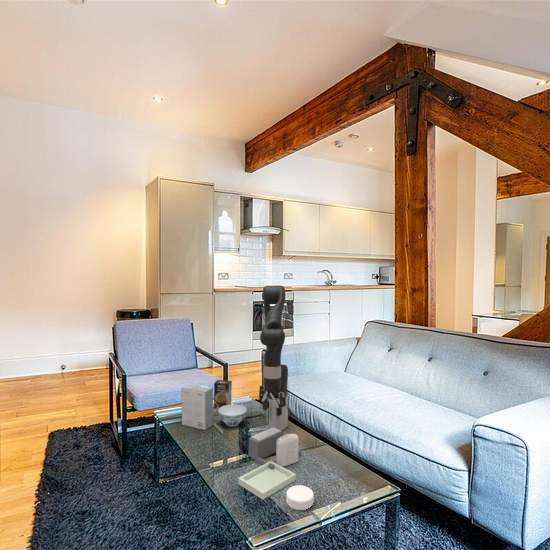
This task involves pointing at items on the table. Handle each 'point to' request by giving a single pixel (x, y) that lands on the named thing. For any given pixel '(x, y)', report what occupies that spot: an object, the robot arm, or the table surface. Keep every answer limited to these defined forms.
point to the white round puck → (300, 497)
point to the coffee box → (222, 393)
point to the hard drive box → (197, 406)
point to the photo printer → (287, 450)
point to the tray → (266, 480)
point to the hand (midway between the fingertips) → (271, 412)
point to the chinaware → (232, 414)
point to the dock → (265, 445)
